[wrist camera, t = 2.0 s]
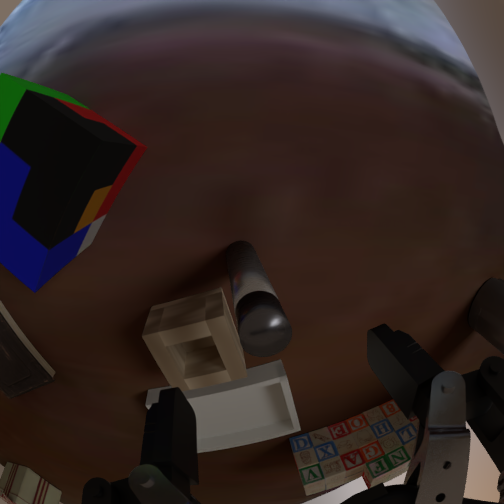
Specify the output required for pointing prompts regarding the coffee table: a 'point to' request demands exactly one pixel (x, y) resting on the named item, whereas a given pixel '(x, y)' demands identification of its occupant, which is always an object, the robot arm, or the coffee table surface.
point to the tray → (241, 409)
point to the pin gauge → (255, 303)
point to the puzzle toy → (54, 177)
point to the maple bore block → (195, 341)
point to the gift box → (26, 487)
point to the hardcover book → (19, 360)
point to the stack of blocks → (356, 449)
